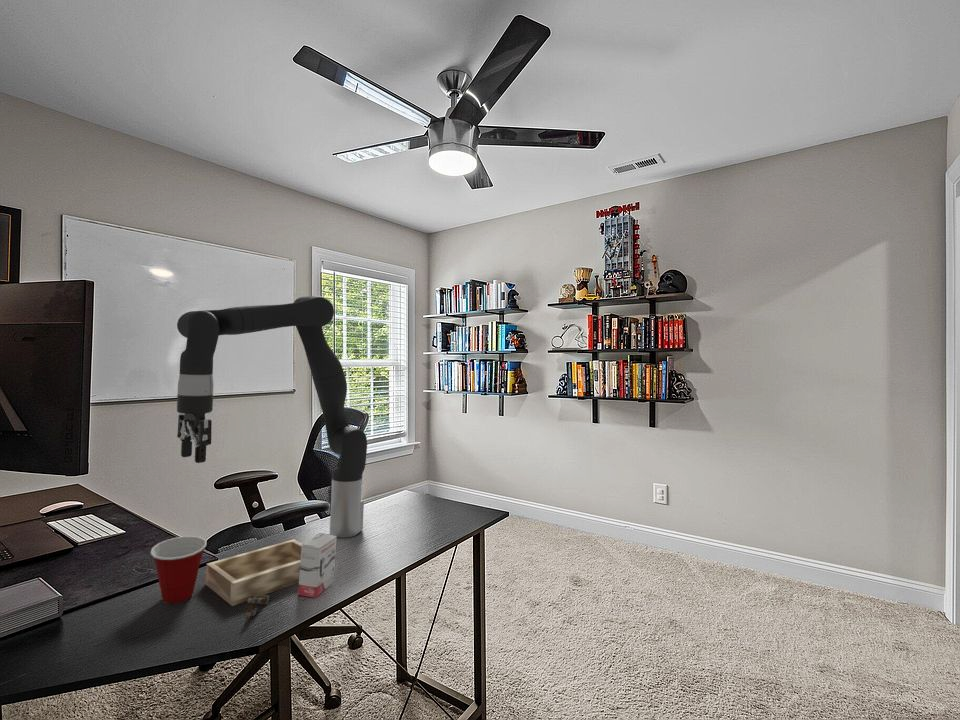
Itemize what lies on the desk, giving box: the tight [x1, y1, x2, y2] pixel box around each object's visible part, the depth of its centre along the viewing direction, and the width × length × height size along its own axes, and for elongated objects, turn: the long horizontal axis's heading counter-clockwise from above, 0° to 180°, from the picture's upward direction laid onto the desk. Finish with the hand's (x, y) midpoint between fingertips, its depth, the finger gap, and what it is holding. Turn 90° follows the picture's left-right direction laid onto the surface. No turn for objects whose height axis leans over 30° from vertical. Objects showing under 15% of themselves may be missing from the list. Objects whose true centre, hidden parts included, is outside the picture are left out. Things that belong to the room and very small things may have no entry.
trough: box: [205, 538, 303, 607], centre depth 120 cm, size 22×14×5 cm, turn 140°
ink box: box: [297, 532, 338, 598], centre depth 117 cm, size 9×5×12 cm, turn 168°
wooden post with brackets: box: [245, 594, 270, 621], centre depth 105 cm, size 2×8×4 cm, turn 179°
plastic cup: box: [150, 535, 207, 604], centre depth 110 cm, size 11×11×12 cm
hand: (193, 459), depth 118 cm, fingers open, 8 cm apart
